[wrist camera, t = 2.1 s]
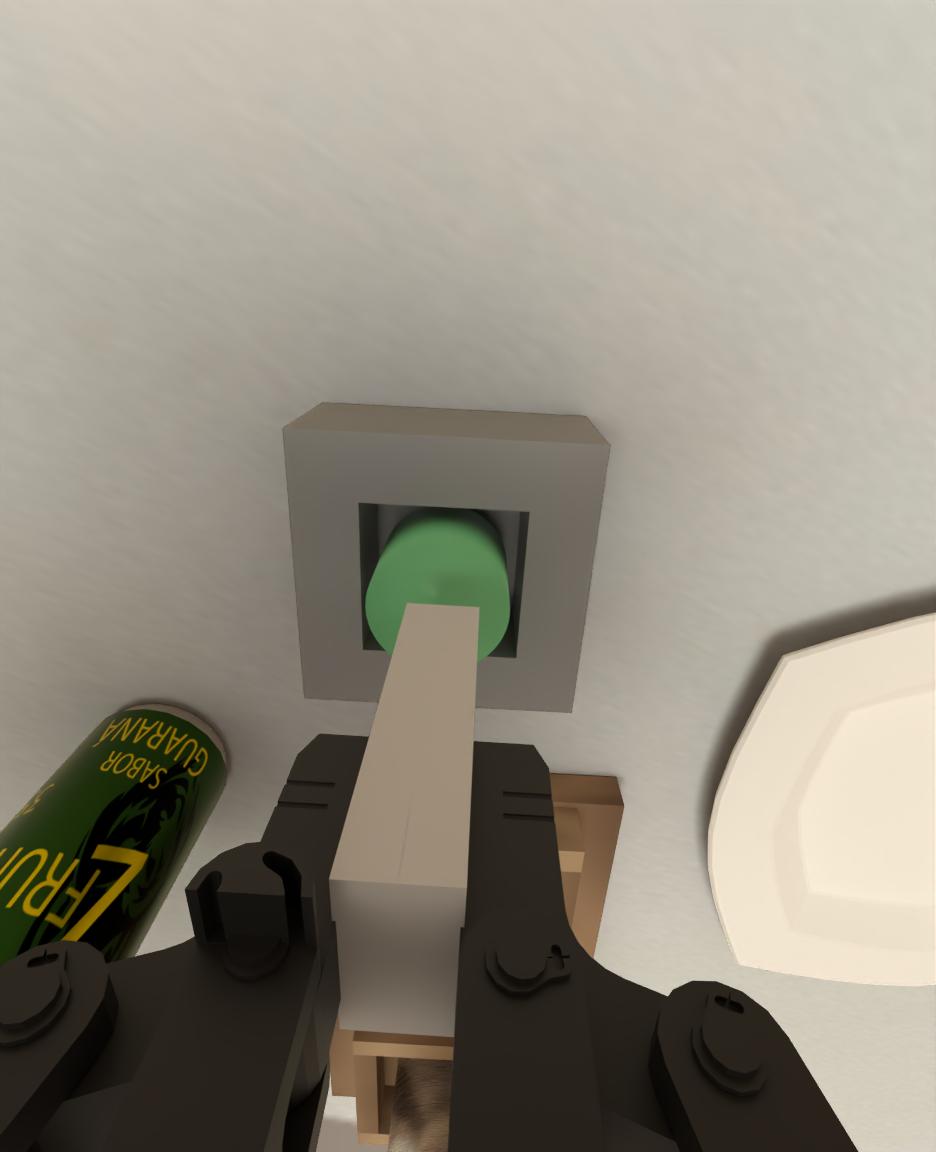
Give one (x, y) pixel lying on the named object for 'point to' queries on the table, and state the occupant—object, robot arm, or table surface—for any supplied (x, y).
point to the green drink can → (109, 833)
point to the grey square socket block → (457, 480)
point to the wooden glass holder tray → (585, 862)
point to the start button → (441, 573)
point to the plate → (835, 814)
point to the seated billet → (421, 1106)
